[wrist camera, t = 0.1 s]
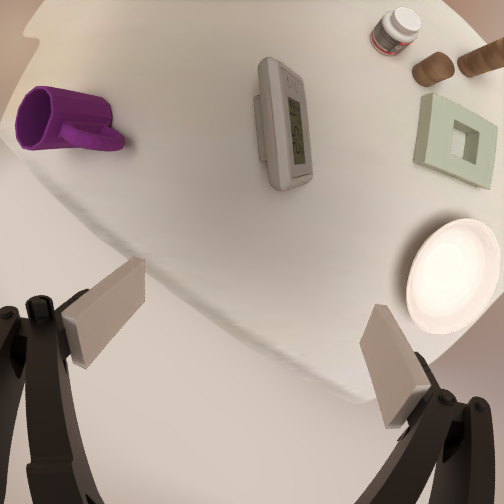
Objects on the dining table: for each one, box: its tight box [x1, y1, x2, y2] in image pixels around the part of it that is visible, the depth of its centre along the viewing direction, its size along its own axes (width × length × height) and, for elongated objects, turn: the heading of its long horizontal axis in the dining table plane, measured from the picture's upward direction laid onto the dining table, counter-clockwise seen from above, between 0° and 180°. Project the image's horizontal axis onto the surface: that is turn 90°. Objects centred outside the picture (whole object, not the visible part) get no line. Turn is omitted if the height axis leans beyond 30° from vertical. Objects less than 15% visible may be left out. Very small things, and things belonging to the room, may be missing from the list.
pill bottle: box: [371, 7, 422, 56], centre depth 26 cm, size 5×5×10 cm
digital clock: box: [254, 57, 312, 191], centre depth 33 cm, size 16×9×11 cm, turn 174°
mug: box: [15, 86, 125, 151], centre depth 33 cm, size 9×16×15 cm, turn 58°
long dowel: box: [457, 38, 504, 77], centre depth 22 cm, size 4×4×15 cm
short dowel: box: [412, 52, 455, 87], centre depth 28 cm, size 4×4×7 cm
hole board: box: [413, 93, 498, 190], centre depth 33 cm, size 11×14×4 cm
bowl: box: [406, 218, 501, 335], centre depth 38 cm, size 20×20×6 cm
